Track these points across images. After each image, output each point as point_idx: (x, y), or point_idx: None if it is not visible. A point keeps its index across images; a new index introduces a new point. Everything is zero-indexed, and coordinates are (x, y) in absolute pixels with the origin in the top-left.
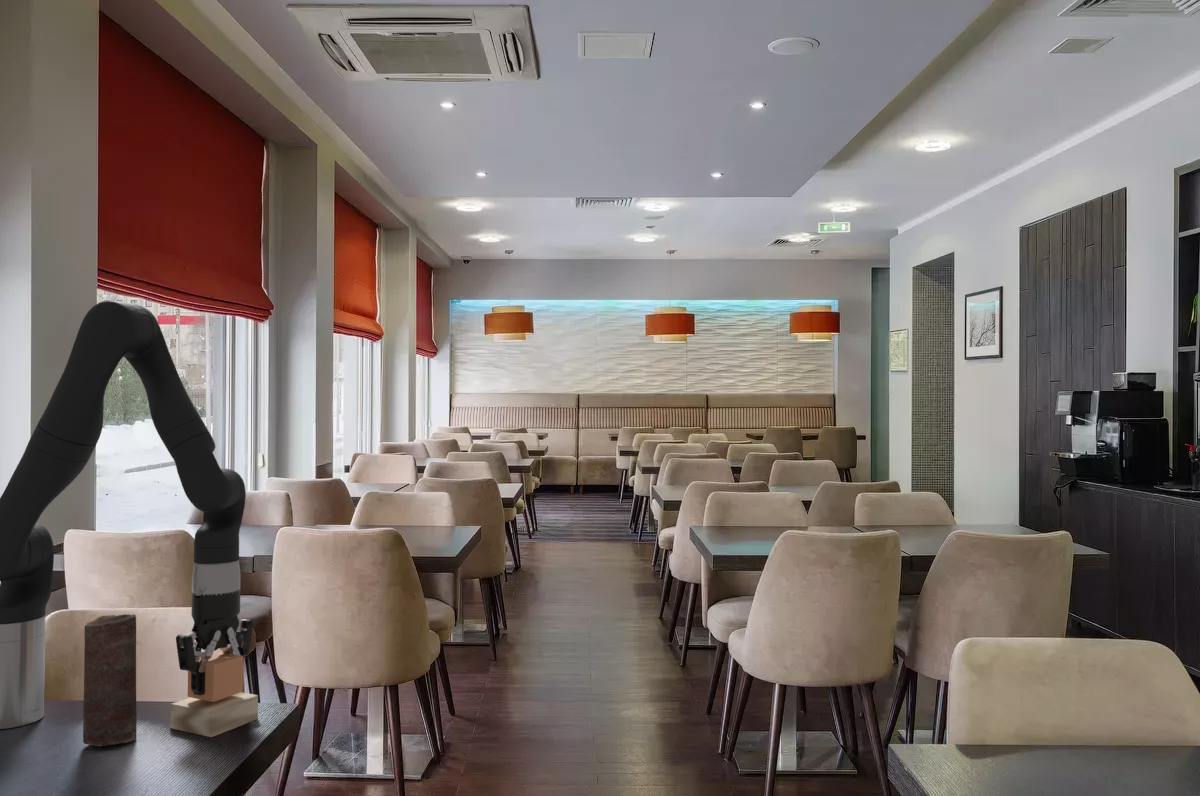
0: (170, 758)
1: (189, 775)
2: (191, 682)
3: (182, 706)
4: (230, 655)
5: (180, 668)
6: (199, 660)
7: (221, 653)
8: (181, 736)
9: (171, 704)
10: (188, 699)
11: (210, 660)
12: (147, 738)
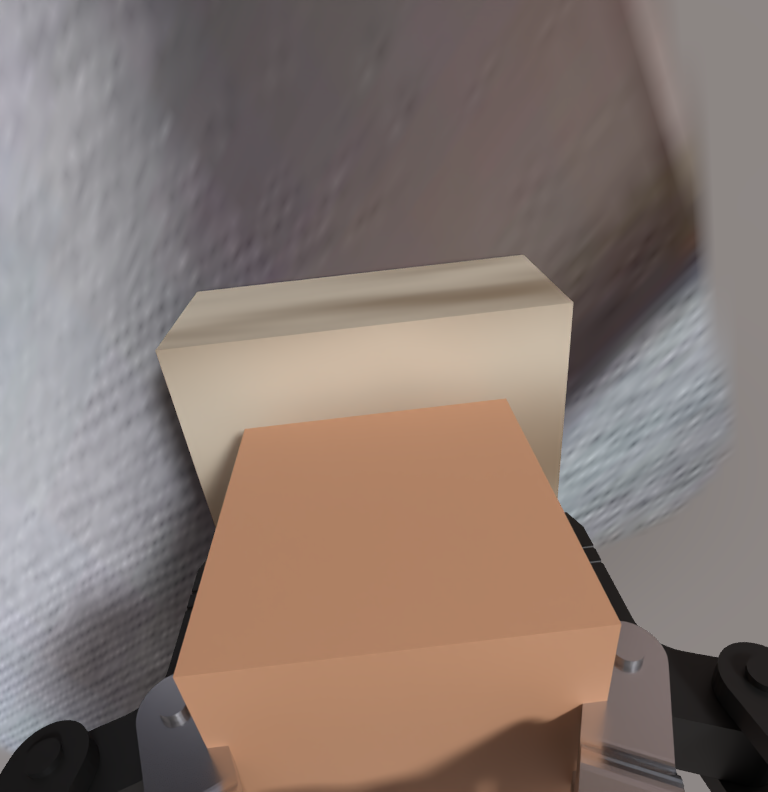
0: (49, 590)
1: (50, 715)
2: (188, 612)
3: (190, 447)
4: (553, 776)
5: (21, 755)
6: (263, 738)
7: (581, 687)
8: (183, 434)
9: (158, 354)
10: (285, 364)
11: (332, 787)
12: (43, 330)
